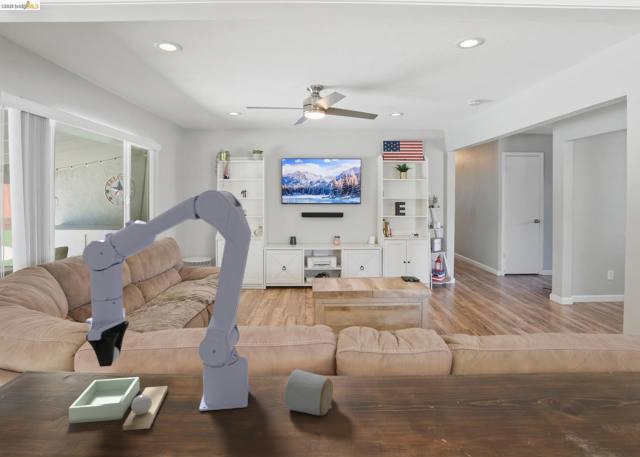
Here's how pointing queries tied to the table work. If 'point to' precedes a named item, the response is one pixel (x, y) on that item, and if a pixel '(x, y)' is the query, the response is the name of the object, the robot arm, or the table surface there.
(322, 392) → the grey cylinder tan end
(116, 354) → the white ball
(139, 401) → the pebble
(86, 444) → the table surface
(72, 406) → the tub
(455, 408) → the table surface
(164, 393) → the oak board
